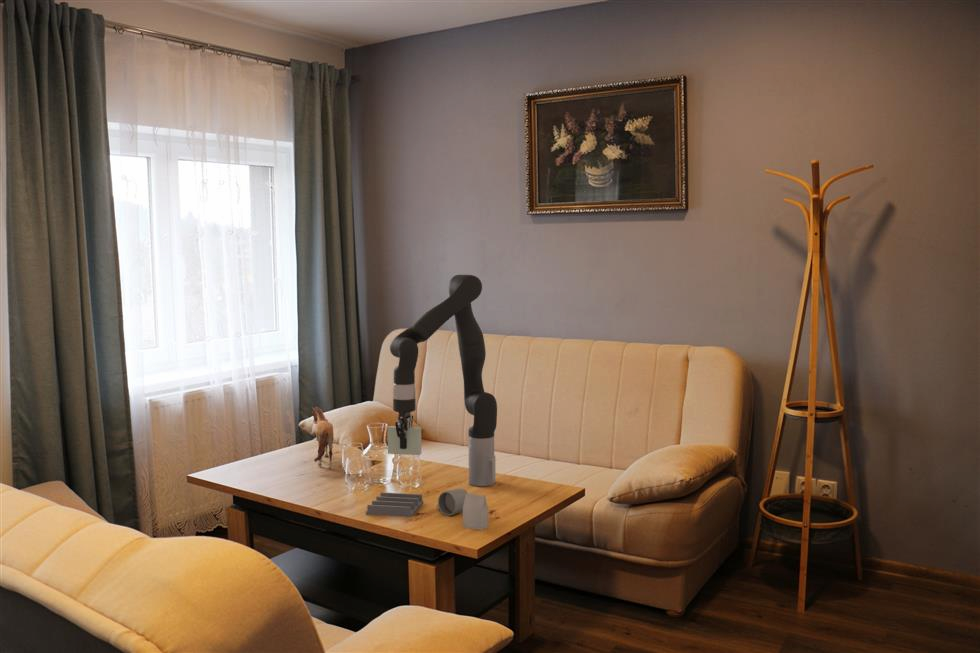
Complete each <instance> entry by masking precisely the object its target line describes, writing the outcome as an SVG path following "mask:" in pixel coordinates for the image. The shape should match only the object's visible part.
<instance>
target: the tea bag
mask: <svg viewBox="0 0 980 653" xmlns="http://www.w3.org/2000/svg"><path fill="white" fill-rule="evenodd" d="M462 527H463V528H467V527H468V528H467V529H472V530H477V529H478V531H481V530H482V531H483V529H484V530H486V529H487V528H489V506H488V503H487V499H486V495H482V494H476V493H471V492H467V493H466V496H465V501H464V505H463V511H462ZM485 528H486V529H485Z"/></svg>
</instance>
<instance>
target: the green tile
mask: <svg viewBox="0 0 980 653" xmlns="http://www.w3.org/2000/svg"><path fill="white" fill-rule="evenodd" d="M401 433H402V432H401ZM402 434H403V433H402ZM387 454H389V455H390V454H391V455H407V456H408V455H409V456H410V455H411V456H420V455H421V454H422V426H412V427H409V428H408V431H407V448H406V449H400V438H399V437H397V431H396V426H395V425H389V426H388V427H387Z"/></svg>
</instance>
